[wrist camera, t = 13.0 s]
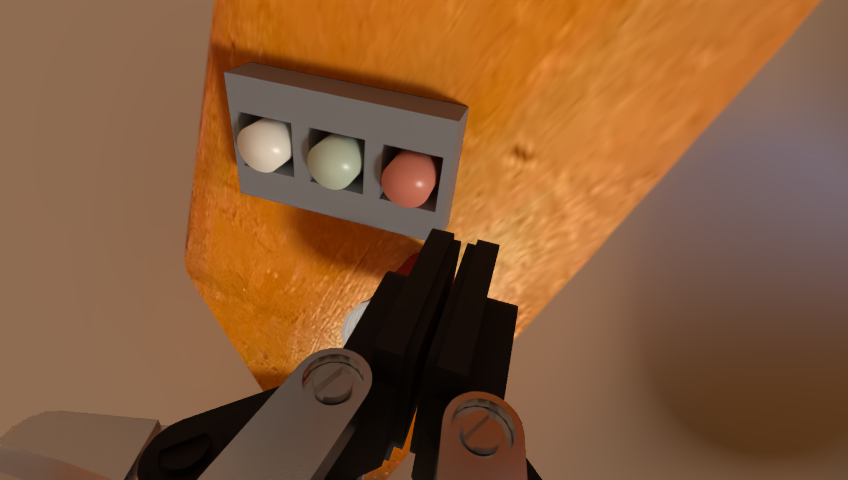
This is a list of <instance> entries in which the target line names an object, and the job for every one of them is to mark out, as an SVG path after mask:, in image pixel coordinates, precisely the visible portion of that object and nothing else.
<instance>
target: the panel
mask: <svg viewBox="0 0 848 480" xmlns="http://www.w3.org/2000/svg"><path fill="white" fill-rule="evenodd" d="M224 77H225V84H226V91H227V98H228V105H229V112H230V119H231V126H232V133H233V140H234V147H235V154H236V161H237V168H238V175H239V181H240V188H241V193H244V194H248V195H251V196H255V197H259V198H263V199H267V200H271V201H275V202H278V203H282V204H286V205H290V206H294V207H298V208H302V209H305V210H309V211H313V212H317V213H321V214H325V215H329V216H333V217H336V218H340V219H344V220H348V221H352V222H356V223H360V224H363V225H367V226H371V227H375V228H379V229H383V230H387V231H390V232H394V233H398V234H402V235H406V236H410V237H414V238H418V239H421V240H425V241H426V239H427V237H428V235H429V233H430V231H431V230H432V228H435V229H439V230H443V231H445V230H446V227H447V225H448V223H449V217H450V212H451V206H452V200H453V195H454V189H455V183H456V177H457V172H458V166H459V160H460V154H461V149H462V143H463V137H464V132H465V126H466V120H467V114H468V109H469V107H468V106H463V105H458V104H453V103H448V102H443V101H438V100H433V99H429V98H424V97H419V96H414V95H409V94H404V93H399V92H394V91H389V90H385V89H380V88H375V87H370V86H365V85H360V84H355V83H350V82H345V81H341V80H336V79H331V78H326V77H321V76H316V75H311V74H306V73H302V72H297V71H292V70H287V69H282V68H277V67H272V66H267V65H262V64H258V63H253V62H250V63H247V64H244V65H241V66H239V67H236V68H233V69H230V70H227V71H225V72H224ZM264 117H266V118H270V119H274V120H279V121H283V122H288V123H291V129H292V145H293V157H292V158H290V159H289V160H288V161H286V162H285V163H284V164H282V165H281V166H280V167H278V168H277V169H276V170H274V171H272V172H268V173H264V172H260V171H257V170H255V169H253V168H252V167H250V166H249V165H248V164H247V163H246V162H245V161H244V159H243V158H242V156H241V155H240V152H239V150H238V146H237V138H238V135H239V133H240V131H241V130H242V129H244V128H246V127H248V126H249V125H251V124H253V123H255V122H257V121H258V120H260V119H262V118H264ZM328 132H332V133H336V134H341V135H345V136H350V137H354V138H359V139H363V140H365V156H364V173H361V172H360V173H359V174H358V175H357V176H356V177H355V179H354V180H353V181H352V182H351V183H350V184H349V185H348V186H347V187H345V188H343V189H339V190H332V189H328V188H326V187H324V186H322V185H321V184H319V183H318V182H317V181H316V180H315V179H314V178H313V176H312V175H311V173H310V171H309V168H308V164H307V158H308V154H309V152H310V150H311V149H312V148H313V147H314V146H315V145H317V144H318V143H319V142H321V141H322V140H323V139H324V138H326V137H327V136H328ZM396 147H398V148H403V149H407V150H412V151H416V152H421V153H425V154H429V155H434V156H438V157H443V165H442V171H441V178H440V185H439V191H436V190H432V192H431V193H430V195H429V197H428V198H427V200H426V201H425V202H424V203H423V204H422V205H420V206H418V207H414V208H405V207H401V206H398V205H396V204H395V203H393V202H392V201H391V200H390V199H389V198H388V197H387V196H386V195H385V193H384V191H383V188H382V184H381V178H382V174H383V172H384V170H385V169H386V167H387V166H388V165H389V164H390V163H391V161H392V160H393V159H394V158H395V154H396Z"/></svg>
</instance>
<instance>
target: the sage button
mask: <svg viewBox="0 0 848 480" xmlns="http://www.w3.org/2000/svg"><path fill="white" fill-rule="evenodd" d="M364 156H365V140H363V139H359V138H354V137H350V136H345V135H341V134H336V133H331V134H330V135H328V136H327V137H326V138H324V139H323V140H322V141H321V142H319V143H318V144H317V145H315V146H314V147H313V148H312V149H311V150H310V152H309V154H308V158H307V164H308V168H309V171H310V173H311V175H312V176H313V178H314V179H315V180H316V181H317V182H318V183H319V184H321V185H322V186H324V187H326V188H328V189H332V190H339V189H343V188H345V187H347V186H348V185H349V184H350V183H351V182H352V181H353V180H354V179H355V177H356V176H357V175H358V174H359V173H360V172H361V171H362V170H363V169H364Z"/></svg>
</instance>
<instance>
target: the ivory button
mask: <svg viewBox="0 0 848 480" xmlns="http://www.w3.org/2000/svg"><path fill="white" fill-rule="evenodd" d="M237 146H238V150H239V152H240V155H241V156H242V158H243V159H244V161H245V162H246V163H247V164H248V165H249V166H250V167H252V168H253V169H255V170H257V171H260V172H264V173H268V172H272V171H274V170H276V169H277V168H278V167H280V166H281V165H282V164H284V163H285V162H286V161H288V160H289V159H290V158H292V157H293V145H292V129H291V123H288V122H283V121H279V120H274V119H270V118H266V117H264V118H262V119H260V120H258V121H257V122H255V123H253V124H251V125H249V126H248V127H246V128H244V129H242V130H241V131H240V133H239V135H238V138H237Z"/></svg>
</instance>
